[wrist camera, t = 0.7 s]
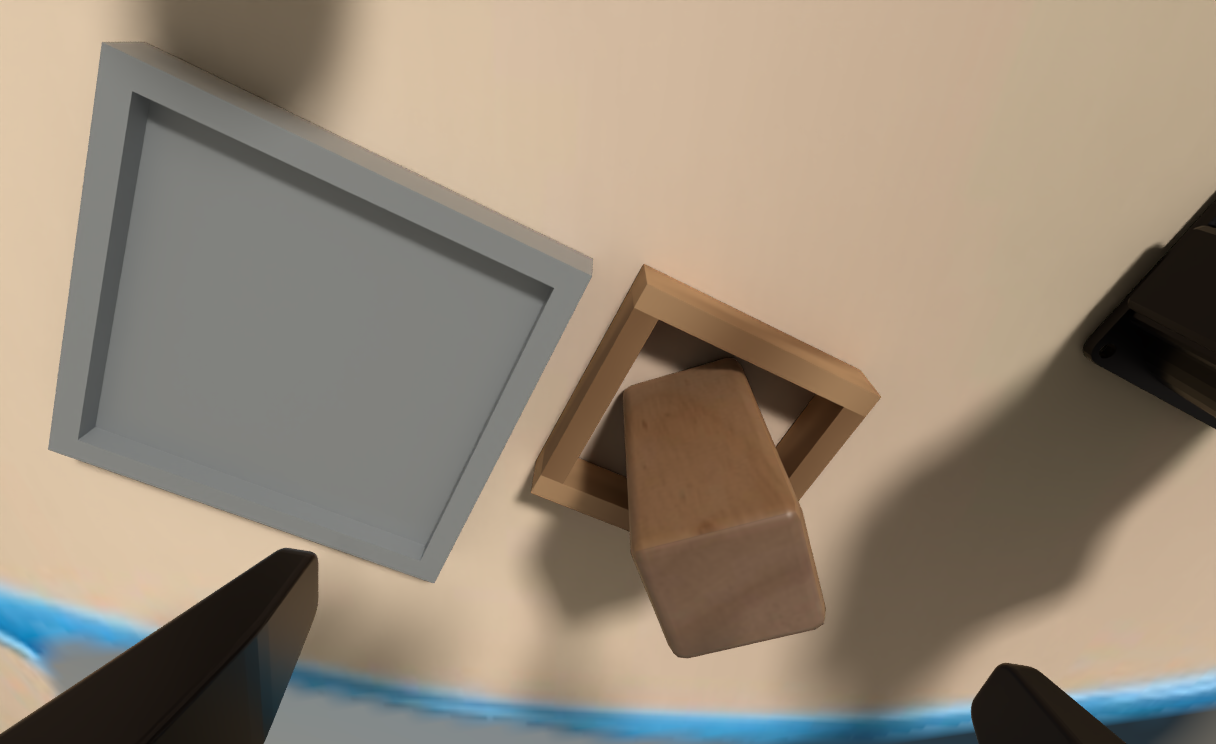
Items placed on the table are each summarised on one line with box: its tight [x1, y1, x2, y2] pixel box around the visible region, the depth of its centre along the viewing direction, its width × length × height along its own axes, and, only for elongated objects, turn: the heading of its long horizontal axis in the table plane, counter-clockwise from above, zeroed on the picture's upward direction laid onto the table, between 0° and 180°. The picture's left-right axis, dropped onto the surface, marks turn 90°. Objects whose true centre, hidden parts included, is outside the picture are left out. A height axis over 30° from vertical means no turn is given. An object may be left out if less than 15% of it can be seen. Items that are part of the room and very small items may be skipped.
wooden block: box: [623, 358, 826, 658], centre depth 19 cm, size 4×4×8 cm
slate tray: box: [48, 42, 593, 583], centre depth 20 cm, size 13×13×2 cm
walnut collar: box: [531, 264, 881, 531], centre depth 21 cm, size 8×8×2 cm
